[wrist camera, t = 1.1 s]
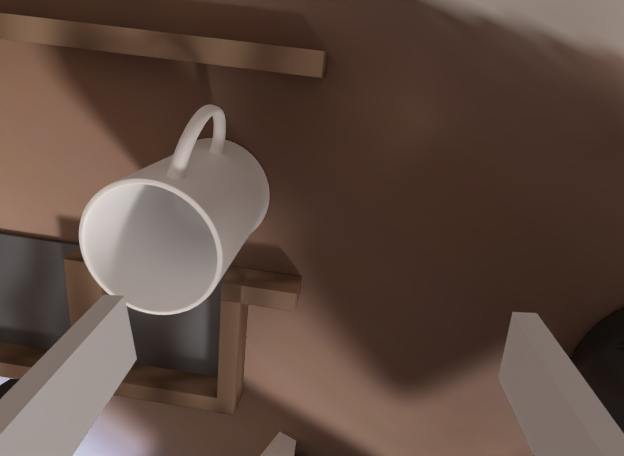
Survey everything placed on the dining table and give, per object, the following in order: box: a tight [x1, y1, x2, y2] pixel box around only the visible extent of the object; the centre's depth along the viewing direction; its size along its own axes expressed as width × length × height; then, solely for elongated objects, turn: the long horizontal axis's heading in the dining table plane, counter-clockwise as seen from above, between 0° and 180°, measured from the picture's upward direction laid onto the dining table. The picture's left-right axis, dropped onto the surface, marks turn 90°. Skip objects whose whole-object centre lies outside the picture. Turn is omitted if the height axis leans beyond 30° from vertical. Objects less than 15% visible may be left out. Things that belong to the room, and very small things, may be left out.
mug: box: [79, 104, 270, 315], centre depth 28 cm, size 12×8×12 cm
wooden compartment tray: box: [0, 13, 327, 415], centre depth 33 cm, size 32×31×6 cm
